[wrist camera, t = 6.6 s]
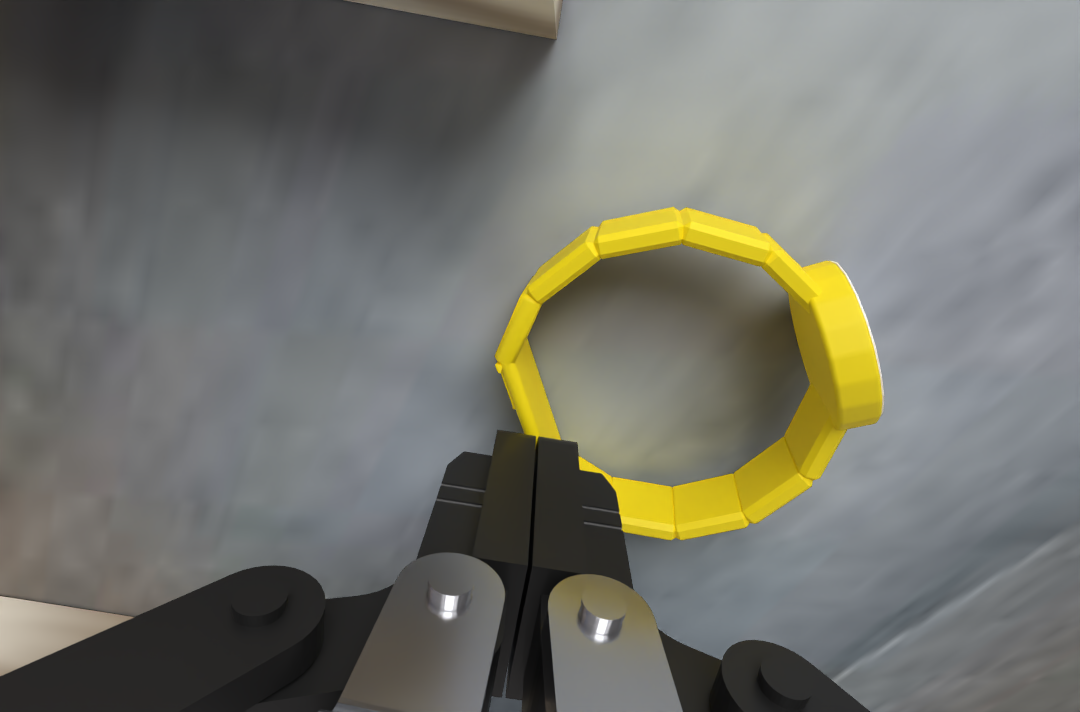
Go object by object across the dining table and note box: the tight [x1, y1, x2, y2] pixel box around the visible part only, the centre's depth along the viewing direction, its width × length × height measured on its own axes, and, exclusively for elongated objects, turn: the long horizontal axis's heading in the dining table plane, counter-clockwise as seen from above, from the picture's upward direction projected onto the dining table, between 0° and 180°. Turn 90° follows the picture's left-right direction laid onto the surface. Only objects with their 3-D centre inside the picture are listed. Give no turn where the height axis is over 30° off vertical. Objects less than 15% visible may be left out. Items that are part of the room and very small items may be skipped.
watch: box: [495, 207, 884, 540], centre depth 11 cm, size 6×3×6 cm
